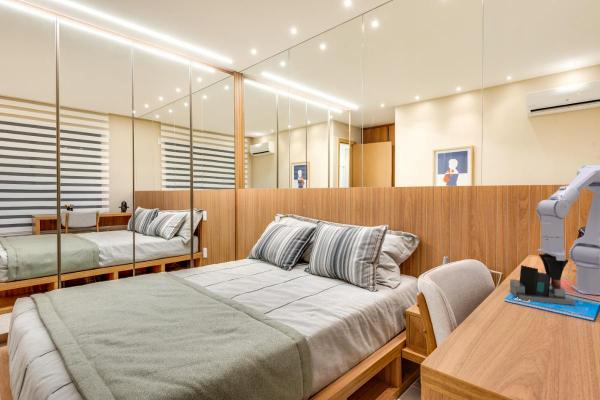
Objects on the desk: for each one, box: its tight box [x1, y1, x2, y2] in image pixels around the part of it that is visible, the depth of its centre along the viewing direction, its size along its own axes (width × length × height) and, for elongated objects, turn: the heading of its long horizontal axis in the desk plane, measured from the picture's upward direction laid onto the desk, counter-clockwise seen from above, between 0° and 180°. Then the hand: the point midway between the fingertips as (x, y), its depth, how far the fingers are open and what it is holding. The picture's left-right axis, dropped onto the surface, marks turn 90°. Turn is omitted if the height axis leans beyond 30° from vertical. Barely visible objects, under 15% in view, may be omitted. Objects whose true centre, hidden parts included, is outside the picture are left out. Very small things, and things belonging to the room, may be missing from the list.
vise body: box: [509, 278, 576, 306], centre depth 100 cm, size 14×12×4 cm
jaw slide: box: [549, 278, 566, 298], centre depth 98 cm, size 3×8×10 cm, turn 156°
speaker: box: [519, 264, 551, 297], centre depth 100 cm, size 8×6×10 cm
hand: (553, 277), depth 99 cm, fingers closed on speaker, 4 cm apart
